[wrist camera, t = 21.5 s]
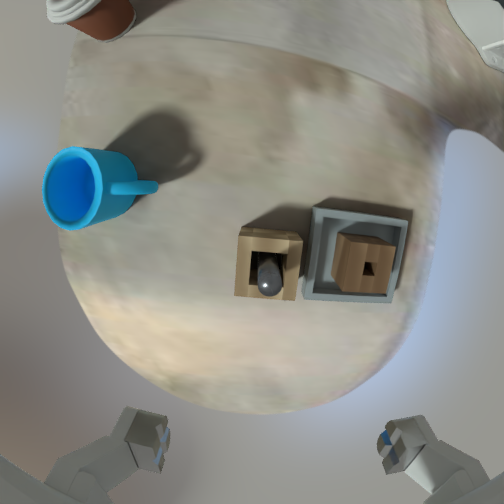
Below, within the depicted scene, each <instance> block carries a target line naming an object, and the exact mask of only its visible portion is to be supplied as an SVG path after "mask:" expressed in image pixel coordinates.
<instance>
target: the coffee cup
mask: <svg viewBox="0 0 504 504" xmlns="http://www.w3.org/2000/svg"><path fill="white" fill-rule="evenodd" d="M46 6H47V7H48V9H47V17H48V19H49V20H50V21H51V22H52V23H54V24H68V25H70V26H72V27H74V28H76V29H78V30H80V31H82V32H84V33H86V34H88V35H90V36H91V37H93V38H95V39H97V40H98V41H100V42H105V43H106V42H111V41H114V40H116V39H118V38H120V37H122V36H123V35H124V34H125V33H126V32H128V31H129V30H130V28H131V27H132V26H133V24H134V23H135V19H136V12H135V10H134V8H133V7H132V5H131V3H130V2H129V0H47V3H46Z"/></svg>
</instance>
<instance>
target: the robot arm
mask: <svg viewBox="0 0 504 504" xmlns="http://www.w3.org/2000/svg"><path fill="white" fill-rule="evenodd" d="M446 1H447V5H448V8H449V10H450V12H451V14H452V16H453V18H454V19H455V21H456V23H457V24H458V25H459V27H460V28H461V30H462V31H463V32H464V34H465V35H466V36H467V37H468V38H469V39H470V41H471V42H472V43H473V44H474V45H475V47H476V48H477V50H478V52H479V53H480V55H481V57H482V59H483V60H484V62H485V63H486V64H487V65H488V66H490V67H492V68H495V69H497V70H499V71H501V72H503V73H504V0H446ZM167 424H168V419H167V416H164V415H160V414H156V413H152V412H147V411H143V410H140V409H136V408H132V407H129V406H127V407H126V408H125V409H124V410H123V412H122V413H121V415H120V417H119V419H118V421H117V423H116V425H115V427H114V429H113V431H112V433H111V435H110V436H104V437H102V438H100V439H98V440H96V441H94V442H92V443H90V444H88V445H86V446H84V447H82V448H80V449H78V450H76V451H73V452H71V453H69V454H67V455H65V456H62V457H60V458H58V459H57V461H56V463H55V465H54V466H53V468H52V470H51V471H50V473H49V475H48V476H47V478H46V480H45V482H44V483H43V482H41V481H40V480H38V479H36V478H35V477H33V476H31V475H30V474H28V473H27V472H25V471H24V470H22V469H21V468H19V467H18V466H16V465H15V464H13V463H12V462H10V461H9V460H8V459H6V458H5V457H3V456H2V455H1V454H0V504H114V502H113V501H112V500H111V499H110V497H109V496H108V495H107V492H108V491H110V490H111V489H113V488H114V487H116V486H117V485H118V484H120V483H121V482H122V481H124V480H125V479H127V478H128V477H129V476H131V475H132V474H133V473H135V472H136V471H137V470H138V468H139V469H143V470H147V471H152V472H156V473H161V471H162V468H163V465H164V461H165V459H164V455H163V454H164V453H166V452H167V451H168V448H169V444H170V429H169V428H168V427H167ZM385 429H386V430H385V431H384V432H383V433H381V434H380V436H379V438H378V441H377V450H378V453H379V455H381V456H382V457H383V458H384V459H383V462H382V464H383V466H384V469H385V472H386V474H392V473H397V472H401V471H405V473H406V474H407V475H409V476H410V477H411V478H412V479H413V480H415V481H416V482H417V483H418V484H419V485H421V486H422V487H423V488H424V489H425V490H427V491H428V492H429V493H430V494H432V495H431V496H430V497H429V498H428V499H426V500H425V501H424V503H423V504H504V472H503V473H501V474H499V475H498V476H496V477H495V478H493V479H492V480H490V479H489V477H488V476H487V474H486V472H485V470H484V469H483V467H482V465H481V464H480V462H479V460H477V459H475V458H473V457H471V456H469V455H467V454H465V453H463V452H462V451H460V450H458V449H456V448H454V447H452V446H451V445H449V444H447V443H445V442H443V441H442V440H440V441H438V439H437V438H436V436H435V434H434V433H433V431H432V429H431V427H430V426H429V424H428V422H427V421H426V419H425V417H424V416H423V415H418V416H413V417H407V418H401V419H396V420H391V421H389V422H388V423H387V424H386V426H385Z"/></svg>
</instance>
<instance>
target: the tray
mask: <svg viewBox="0 0 504 504" xmlns="http://www.w3.org/2000/svg"><path fill="white" fill-rule="evenodd" d="M407 226H408V221H407V220H404V219H401V218H396V217H389V216H383V215H376V214H369V213H362V212H355V211H348V210H340V209H332V208H324V207H316V206H313V208H312V217H311V225H310V233H309V241H308V249H307V256H306V263H305V270H304V277H303V284H302V291H301V292H302V295H303V298H304V299H306V300H322V301H341V302H364V303H391V302H392V298H393V294H394V290H395V286H396V282H397V278H398V273H399V269H400V264H401V259H402V254H403V249H404V244H405V238H406V232H407ZM337 232H342V233H351V234H360V235H368V236H377V237H379V238H381V239H383V240H384V241H386V242H388V243H390V244H392V245H394V246H395V247H396V249H395V254H394V260H393V264H392V269H391V274H390V278H389V283H388V287H387V291H386V294H384V293H363V292H345V291H342V290H341V289H340V287H339V286H338V285H337V283H336V282H335V280H334V279H333V278H332V276H331V269H332V263H333V257H334V251H335V244H336V237H337Z"/></svg>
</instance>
